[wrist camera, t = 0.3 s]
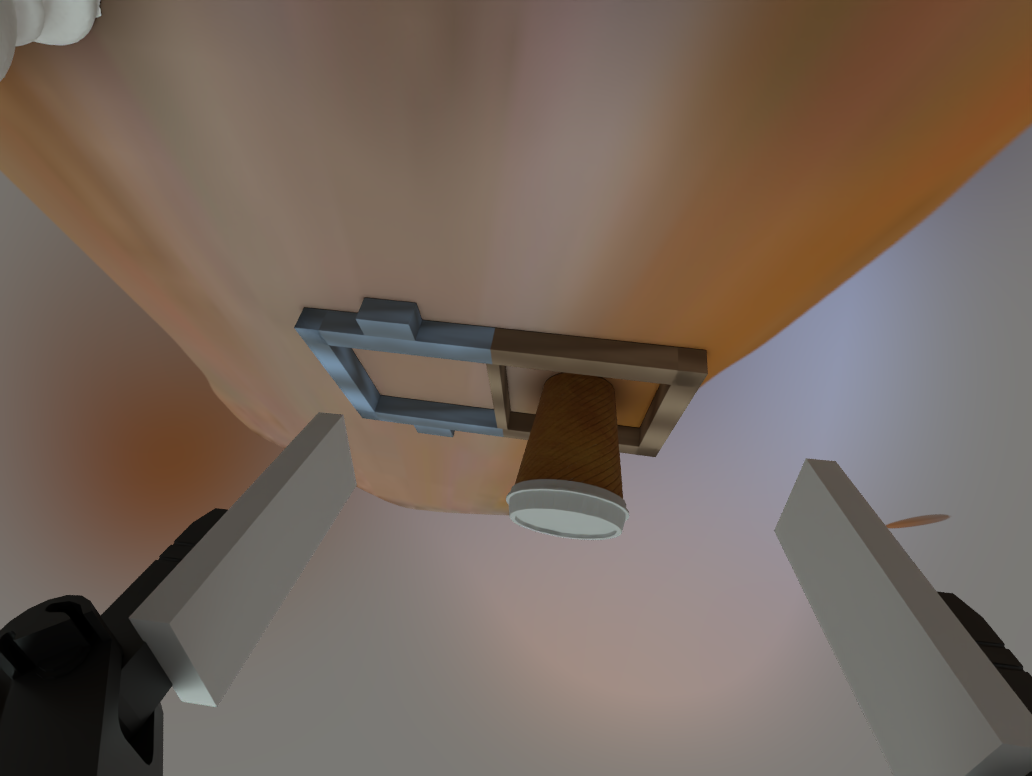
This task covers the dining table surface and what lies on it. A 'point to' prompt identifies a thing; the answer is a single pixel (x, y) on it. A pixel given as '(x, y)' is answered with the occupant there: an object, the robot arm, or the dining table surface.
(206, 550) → the robot arm
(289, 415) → the dining table surface
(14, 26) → the cherub figurine
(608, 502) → the disposable coffee cup
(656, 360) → the two-bay frame
